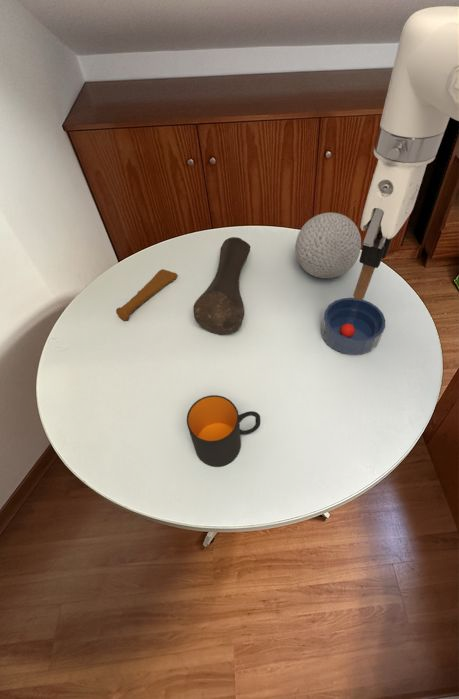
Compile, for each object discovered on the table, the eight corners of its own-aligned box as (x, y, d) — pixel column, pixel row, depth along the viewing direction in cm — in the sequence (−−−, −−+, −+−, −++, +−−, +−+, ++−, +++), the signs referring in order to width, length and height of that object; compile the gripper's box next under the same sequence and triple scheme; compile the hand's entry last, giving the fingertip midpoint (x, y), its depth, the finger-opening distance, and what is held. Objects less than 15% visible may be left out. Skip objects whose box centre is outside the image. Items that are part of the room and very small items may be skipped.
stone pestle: (228, 347, 82) (243, 276, 102) (250, 317, 75) (262, 246, 94) (183, 327, 80) (207, 258, 99) (202, 293, 73) (224, 226, 92)
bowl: (387, 327, 81) (394, 311, 77) (365, 365, 75) (371, 350, 71) (335, 306, 85) (339, 290, 81) (311, 341, 79) (314, 325, 76)
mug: (266, 454, 64) (268, 428, 56) (199, 472, 63) (191, 448, 55) (253, 414, 69) (253, 384, 61) (191, 429, 68) (182, 401, 60)
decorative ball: (287, 256, 98) (291, 203, 86) (343, 249, 98) (354, 196, 86) (301, 294, 88) (307, 242, 76) (362, 287, 89) (378, 233, 77)
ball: (359, 330, 78) (350, 341, 79) (347, 322, 80) (339, 334, 80) (356, 327, 76) (347, 339, 76) (344, 319, 77) (335, 331, 78)
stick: (366, 295, 68) (390, 230, 56) (360, 301, 67) (384, 236, 55) (356, 290, 68) (378, 225, 57) (350, 296, 67) (372, 231, 56)
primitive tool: (162, 270, 97) (159, 259, 94) (179, 275, 95) (177, 265, 92) (116, 318, 87) (111, 308, 84) (134, 326, 85) (130, 316, 82)
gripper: (416, 176, 41) (375, 296, 55) (456, 123, 49) (411, 241, 63) (353, 161, 44) (329, 279, 58) (399, 114, 52) (368, 229, 66)
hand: (372, 259), depth 61 cm, fingers closed on stick, 2 cm apart
